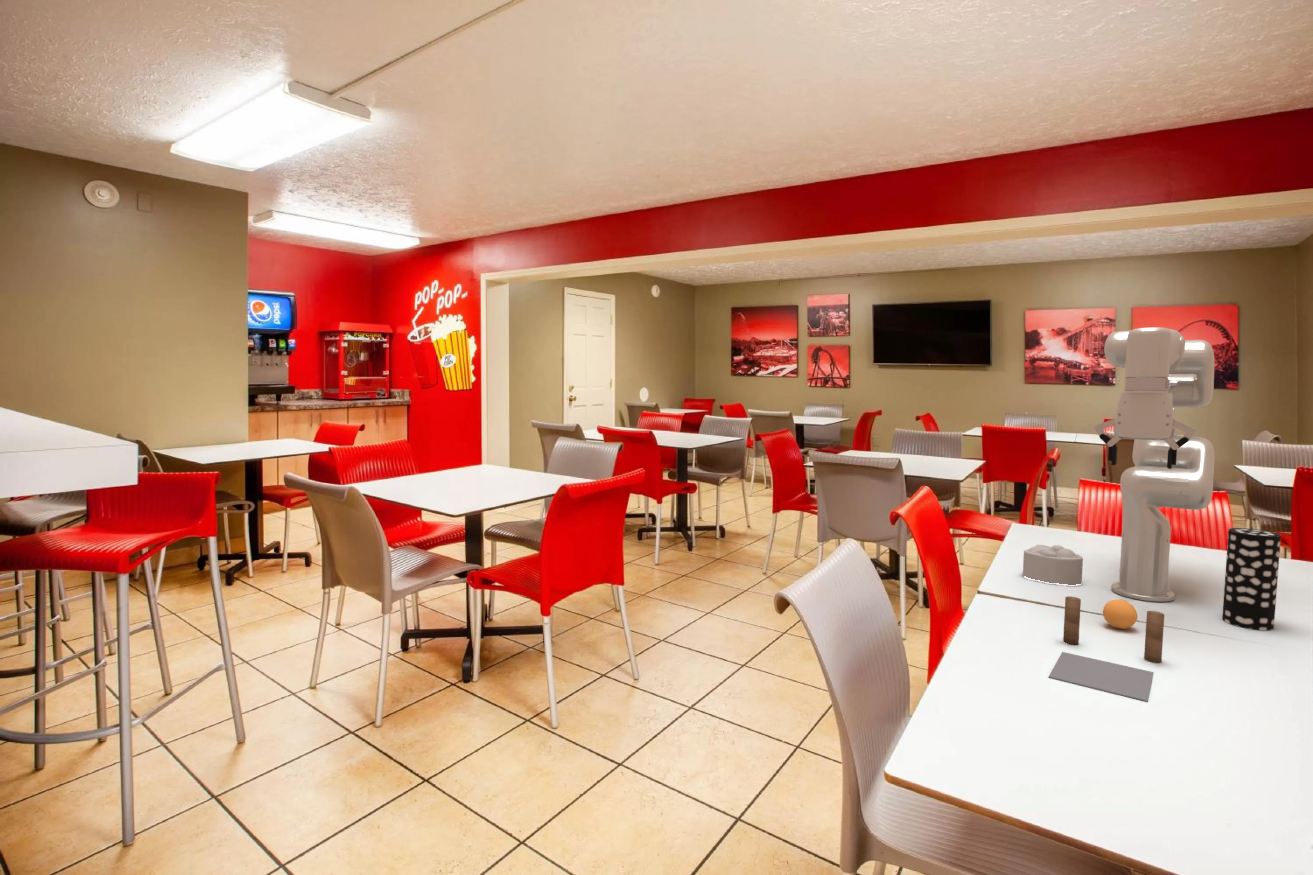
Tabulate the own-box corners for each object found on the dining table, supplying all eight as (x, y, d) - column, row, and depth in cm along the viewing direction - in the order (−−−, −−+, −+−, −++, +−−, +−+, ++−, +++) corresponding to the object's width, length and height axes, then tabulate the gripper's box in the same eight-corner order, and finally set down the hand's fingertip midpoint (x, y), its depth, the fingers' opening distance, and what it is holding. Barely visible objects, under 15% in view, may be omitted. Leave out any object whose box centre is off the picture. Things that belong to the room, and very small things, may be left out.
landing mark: (1062, 652, 126) (1062, 651, 126) (1153, 673, 117) (1153, 672, 117) (1048, 677, 116) (1048, 676, 116) (1147, 701, 107) (1147, 700, 107)
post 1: (1064, 638, 133) (1066, 595, 133) (1079, 642, 132) (1081, 598, 131) (1062, 642, 131) (1064, 598, 131) (1077, 646, 130) (1079, 601, 129)
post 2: (1144, 655, 125) (1147, 609, 124) (1161, 659, 123) (1164, 612, 123) (1143, 660, 123) (1146, 613, 122) (1161, 664, 121) (1164, 616, 121)
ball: (1103, 620, 144) (1105, 593, 143) (1137, 627, 140) (1139, 599, 139) (1100, 628, 139) (1101, 600, 139) (1135, 635, 135) (1137, 606, 135)
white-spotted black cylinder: (1253, 617, 146) (1259, 528, 144) (1284, 631, 138) (1292, 537, 136) (1212, 615, 147) (1218, 527, 145) (1241, 629, 138) (1248, 536, 137)
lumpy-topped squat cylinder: (1033, 571, 182) (1034, 540, 182) (1087, 581, 173) (1089, 549, 172) (1019, 578, 175) (1020, 546, 175) (1074, 589, 166) (1076, 555, 165)
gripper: (1198, 386, 137) (1193, 468, 138) (1099, 386, 148) (1095, 462, 149) (1198, 386, 132) (1192, 471, 133) (1095, 386, 143) (1090, 464, 144)
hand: (1141, 466), depth 141 cm, fingers open, 9 cm apart
